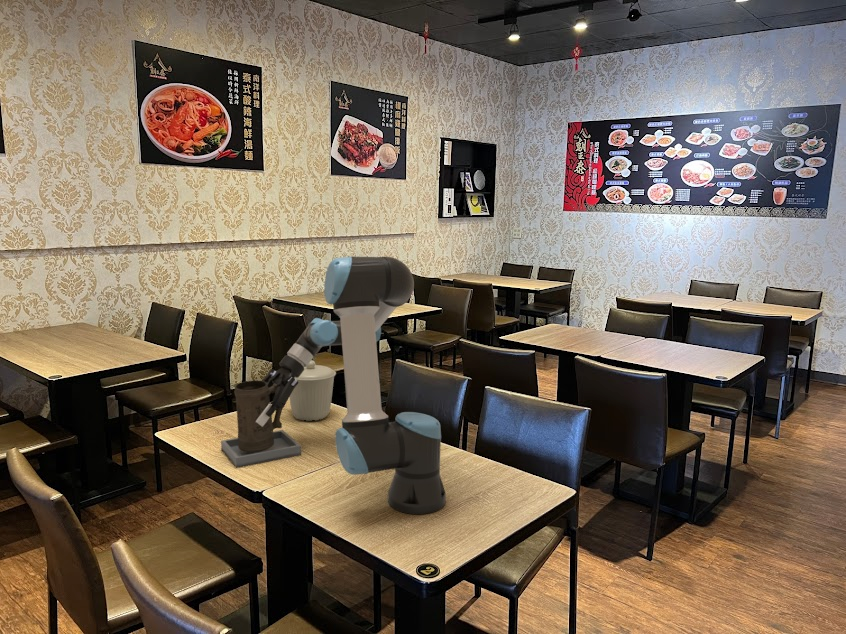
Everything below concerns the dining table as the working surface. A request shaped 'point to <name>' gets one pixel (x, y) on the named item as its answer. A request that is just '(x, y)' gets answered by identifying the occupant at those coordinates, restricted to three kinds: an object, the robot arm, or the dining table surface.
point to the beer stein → (255, 415)
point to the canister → (312, 393)
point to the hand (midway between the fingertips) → (251, 419)
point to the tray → (279, 450)
